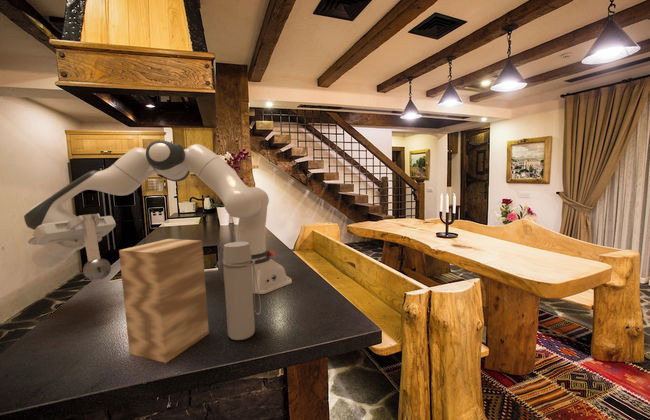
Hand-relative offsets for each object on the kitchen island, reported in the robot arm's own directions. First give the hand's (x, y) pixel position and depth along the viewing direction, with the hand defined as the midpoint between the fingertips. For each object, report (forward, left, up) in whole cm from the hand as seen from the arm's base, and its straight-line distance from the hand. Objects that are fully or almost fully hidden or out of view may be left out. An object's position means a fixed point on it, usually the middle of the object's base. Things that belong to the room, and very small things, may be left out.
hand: (90, 216), depth 89 cm
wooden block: (-13, +29, -32) cm, 45 cm away
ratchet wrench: (+1, -1, -10) cm, 10 cm away
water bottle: (-30, +37, -33) cm, 58 cm away
